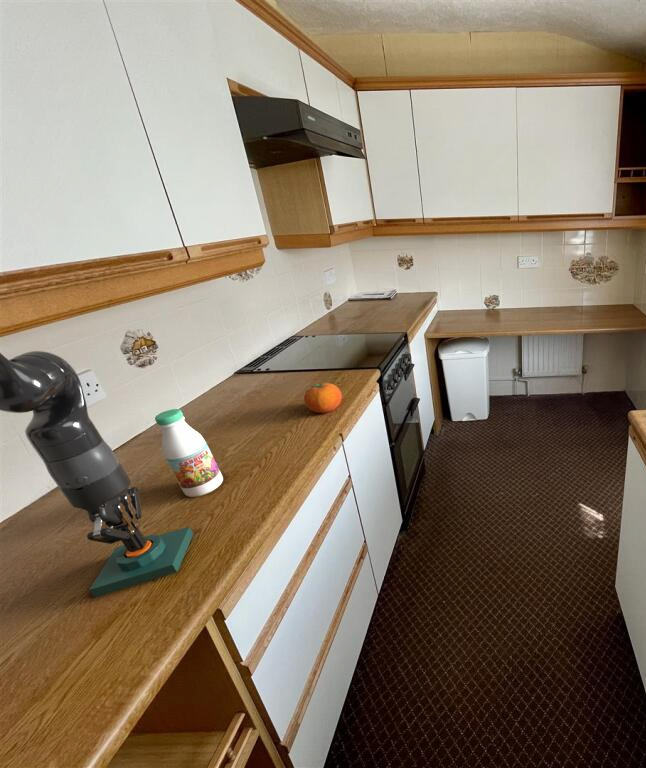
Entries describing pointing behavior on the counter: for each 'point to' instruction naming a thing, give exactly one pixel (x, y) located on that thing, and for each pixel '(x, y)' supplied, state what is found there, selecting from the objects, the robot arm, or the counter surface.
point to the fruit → (322, 398)
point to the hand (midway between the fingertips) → (138, 547)
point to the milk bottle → (188, 455)
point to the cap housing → (143, 562)
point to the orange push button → (139, 552)
